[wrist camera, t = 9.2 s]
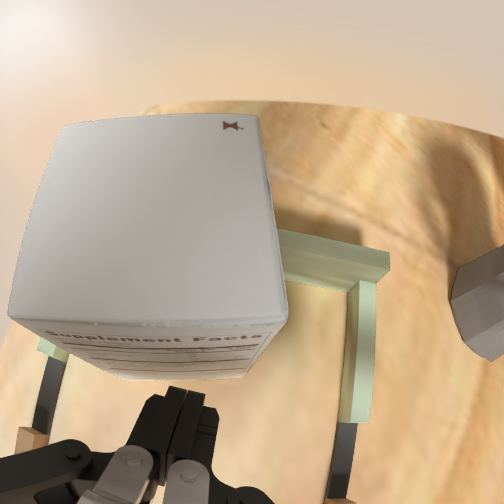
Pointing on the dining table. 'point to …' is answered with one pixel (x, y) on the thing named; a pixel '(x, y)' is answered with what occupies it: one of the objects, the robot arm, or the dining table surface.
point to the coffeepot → (481, 304)
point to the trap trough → (356, 346)
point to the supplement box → (155, 248)
